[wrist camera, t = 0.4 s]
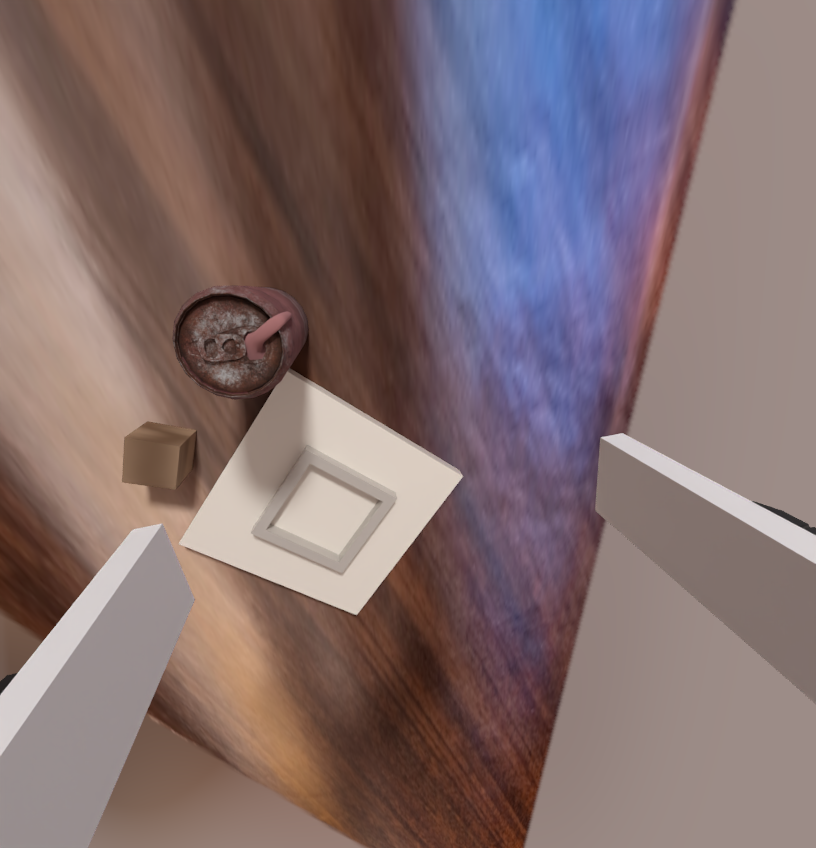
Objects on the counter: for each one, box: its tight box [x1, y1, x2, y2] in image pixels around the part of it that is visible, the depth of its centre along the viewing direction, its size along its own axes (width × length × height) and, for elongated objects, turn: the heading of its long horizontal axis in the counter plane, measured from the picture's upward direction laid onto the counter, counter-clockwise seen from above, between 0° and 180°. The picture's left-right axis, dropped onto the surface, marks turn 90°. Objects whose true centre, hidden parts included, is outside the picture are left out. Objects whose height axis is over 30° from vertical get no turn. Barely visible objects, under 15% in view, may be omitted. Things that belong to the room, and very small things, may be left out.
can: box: [173, 286, 309, 399], centre depth 27 cm, size 6×6×14 cm
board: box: [179, 368, 463, 615], centre depth 38 cm, size 20×20×3 cm
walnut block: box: [122, 422, 197, 490], centre depth 33 cm, size 4×4×4 cm
